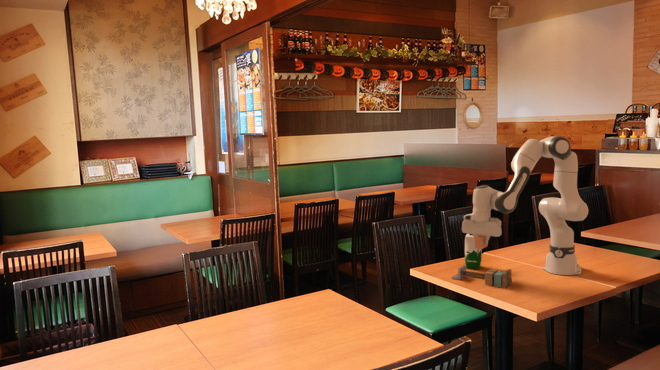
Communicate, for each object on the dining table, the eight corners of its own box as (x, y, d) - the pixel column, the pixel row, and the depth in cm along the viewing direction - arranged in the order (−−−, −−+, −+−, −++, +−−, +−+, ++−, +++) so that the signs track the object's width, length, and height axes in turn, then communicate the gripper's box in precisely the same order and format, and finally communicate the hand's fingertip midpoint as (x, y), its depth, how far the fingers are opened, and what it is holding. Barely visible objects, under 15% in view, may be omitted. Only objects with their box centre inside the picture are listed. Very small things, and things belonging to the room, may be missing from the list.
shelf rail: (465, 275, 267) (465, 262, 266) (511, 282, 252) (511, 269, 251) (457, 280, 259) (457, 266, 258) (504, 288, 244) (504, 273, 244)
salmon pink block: (481, 245, 268) (481, 234, 267) (487, 246, 266) (487, 234, 265) (474, 248, 262) (475, 236, 261) (481, 249, 260) (481, 237, 259)
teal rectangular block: (500, 282, 254) (500, 270, 254) (507, 283, 252) (507, 271, 251) (494, 286, 248) (494, 274, 247) (501, 287, 246) (501, 275, 245)
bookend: (457, 275, 268) (457, 264, 267) (466, 276, 265) (466, 265, 264) (451, 278, 262) (451, 267, 261) (460, 280, 259) (460, 268, 258)
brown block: (491, 280, 257) (491, 269, 256) (497, 281, 255) (497, 270, 254) (484, 284, 251) (485, 272, 250) (491, 285, 249) (491, 273, 248)
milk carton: (482, 265, 284) (482, 230, 282) (480, 270, 276) (480, 233, 274) (466, 264, 288) (466, 229, 285) (463, 268, 279) (463, 233, 277)
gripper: (503, 217, 258) (503, 244, 260) (465, 214, 271) (465, 239, 272) (499, 219, 253) (498, 246, 255) (460, 216, 266) (460, 241, 268)
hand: (481, 243), depth 264 cm, fingers closed on salmon pink block, 3 cm apart
